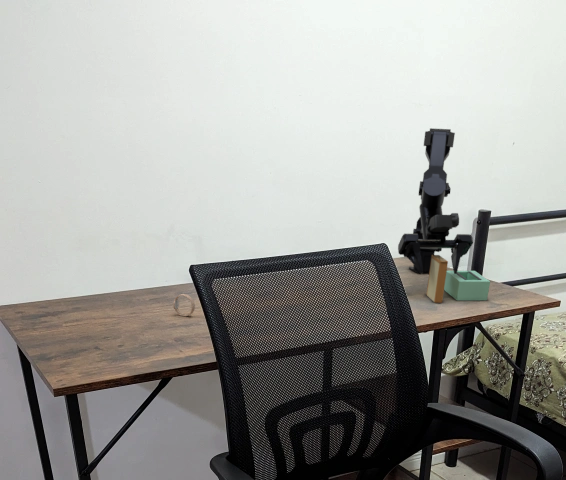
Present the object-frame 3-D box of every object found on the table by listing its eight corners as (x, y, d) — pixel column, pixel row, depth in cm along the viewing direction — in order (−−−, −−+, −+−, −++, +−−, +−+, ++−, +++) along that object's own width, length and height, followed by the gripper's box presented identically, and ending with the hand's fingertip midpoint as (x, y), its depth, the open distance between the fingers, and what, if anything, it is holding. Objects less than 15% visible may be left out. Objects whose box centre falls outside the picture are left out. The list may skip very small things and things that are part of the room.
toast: (426, 295, 194) (431, 254, 189) (433, 295, 194) (439, 254, 189) (434, 302, 188) (440, 261, 182) (442, 302, 188) (448, 261, 182)
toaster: (442, 288, 200) (445, 269, 198) (475, 288, 201) (478, 269, 199) (456, 300, 190) (459, 280, 187) (491, 300, 191) (494, 280, 189)
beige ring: (178, 313, 172) (177, 292, 170) (196, 315, 171) (195, 294, 168) (173, 316, 170) (172, 294, 168) (191, 318, 169) (190, 297, 166)
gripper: (406, 200, 181) (412, 254, 178) (476, 201, 184) (484, 255, 180) (394, 227, 192) (400, 279, 188) (461, 228, 194) (469, 279, 190)
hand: (438, 272), depth 186 cm, fingers open, 9 cm apart
